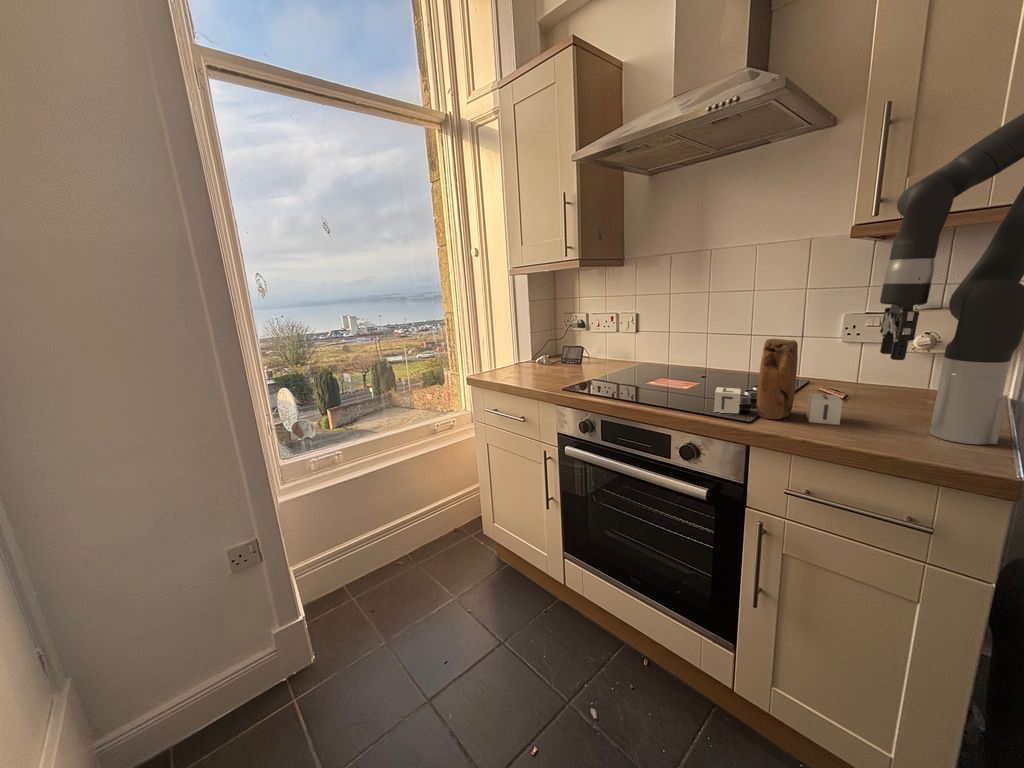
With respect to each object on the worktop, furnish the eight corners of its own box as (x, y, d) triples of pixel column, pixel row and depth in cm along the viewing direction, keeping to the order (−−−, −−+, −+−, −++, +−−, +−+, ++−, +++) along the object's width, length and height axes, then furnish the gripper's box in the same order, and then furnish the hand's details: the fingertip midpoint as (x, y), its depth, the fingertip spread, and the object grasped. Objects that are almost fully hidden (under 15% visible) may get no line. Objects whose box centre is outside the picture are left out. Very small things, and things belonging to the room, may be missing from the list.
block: (762, 408, 115) (769, 337, 111) (794, 412, 110) (802, 338, 106) (751, 417, 108) (758, 341, 103) (785, 423, 103) (794, 343, 98)
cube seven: (739, 409, 116) (740, 388, 114) (738, 415, 110) (740, 393, 109) (715, 407, 118) (716, 386, 117) (713, 413, 113) (715, 391, 112)
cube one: (835, 418, 105) (838, 394, 104) (839, 425, 100) (842, 401, 98) (806, 415, 108) (809, 392, 107) (809, 422, 103) (812, 398, 101)
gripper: (944, 281, 80) (925, 363, 84) (919, 281, 92) (903, 353, 96) (893, 282, 83) (877, 360, 87) (875, 281, 95) (862, 350, 99)
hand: (891, 356), depth 92 cm, fingers open, 8 cm apart
